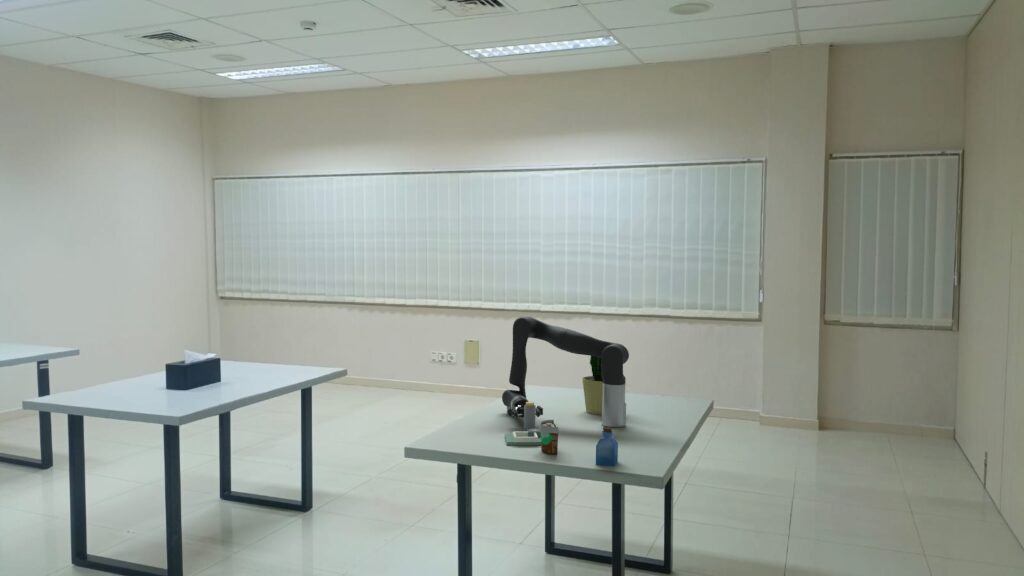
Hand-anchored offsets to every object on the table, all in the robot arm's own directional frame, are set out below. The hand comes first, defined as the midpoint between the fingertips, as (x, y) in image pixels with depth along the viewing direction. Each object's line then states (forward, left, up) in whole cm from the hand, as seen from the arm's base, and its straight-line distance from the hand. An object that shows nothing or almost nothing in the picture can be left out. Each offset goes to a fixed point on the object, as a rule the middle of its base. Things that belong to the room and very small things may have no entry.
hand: (527, 414), depth 289 cm
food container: (-4, +29, -7) cm, 30 cm away
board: (+3, +15, -7) cm, 17 cm away
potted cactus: (-35, -35, -7) cm, 50 cm away
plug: (0, +4, -7) cm, 8 cm away
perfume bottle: (-22, +44, -7) cm, 50 cm away
